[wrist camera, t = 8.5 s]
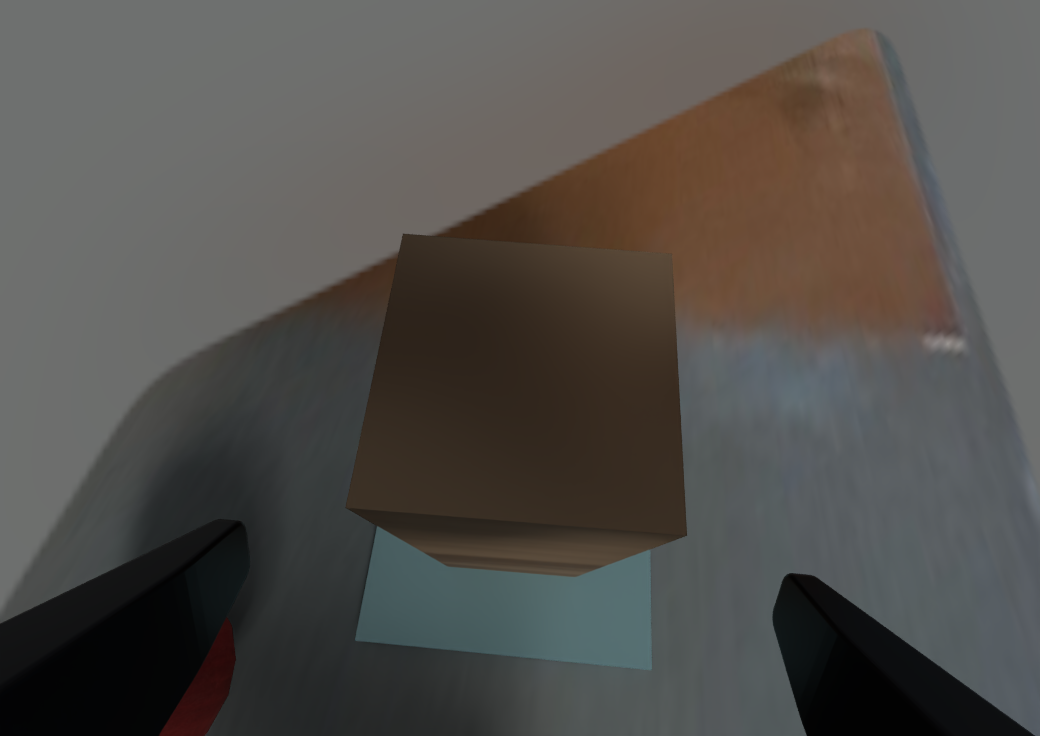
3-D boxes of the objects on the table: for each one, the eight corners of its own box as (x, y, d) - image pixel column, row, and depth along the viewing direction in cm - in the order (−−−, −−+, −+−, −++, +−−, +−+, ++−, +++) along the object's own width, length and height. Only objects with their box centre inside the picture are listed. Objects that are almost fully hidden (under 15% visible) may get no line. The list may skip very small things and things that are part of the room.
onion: (137, 581, 21) (-68, 570, 13) (285, 579, 21) (163, 567, 13) (89, 761, 18) (-194, 869, 11) (256, 758, 18) (88, 862, 11)
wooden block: (575, 577, 20) (687, 535, 8) (447, 566, 20) (345, 507, 8) (578, 452, 22) (672, 253, 10) (463, 443, 22) (402, 234, 10)
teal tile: (647, 668, 20) (651, 670, 19) (359, 639, 20) (354, 640, 19) (645, 396, 24) (647, 392, 24) (409, 375, 24) (407, 370, 24)
